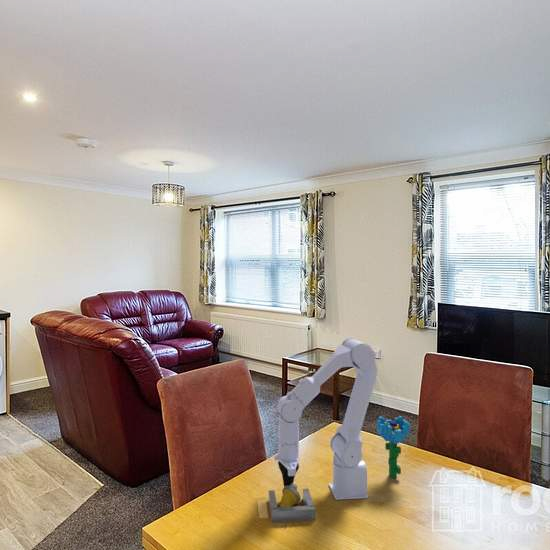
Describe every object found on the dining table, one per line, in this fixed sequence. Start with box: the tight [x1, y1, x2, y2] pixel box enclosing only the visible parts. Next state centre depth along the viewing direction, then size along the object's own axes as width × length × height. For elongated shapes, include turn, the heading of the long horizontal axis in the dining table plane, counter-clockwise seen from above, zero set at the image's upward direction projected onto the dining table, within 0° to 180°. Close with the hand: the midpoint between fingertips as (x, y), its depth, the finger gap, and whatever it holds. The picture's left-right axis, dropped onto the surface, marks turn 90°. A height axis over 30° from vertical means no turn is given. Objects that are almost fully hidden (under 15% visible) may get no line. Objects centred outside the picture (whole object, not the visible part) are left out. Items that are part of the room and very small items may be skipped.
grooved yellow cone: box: [279, 482, 301, 507], centre depth 109 cm, size 5×5×10 cm
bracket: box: [268, 488, 316, 524], centre depth 107 cm, size 11×10×3 cm
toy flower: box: [376, 415, 411, 479], centre depth 124 cm, size 9×9×18 cm
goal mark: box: [257, 499, 269, 519], centre depth 108 cm, size 2×8×1 cm, turn 6°
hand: (288, 488), depth 112 cm, fingers closed, pressing on grooved yellow cone
